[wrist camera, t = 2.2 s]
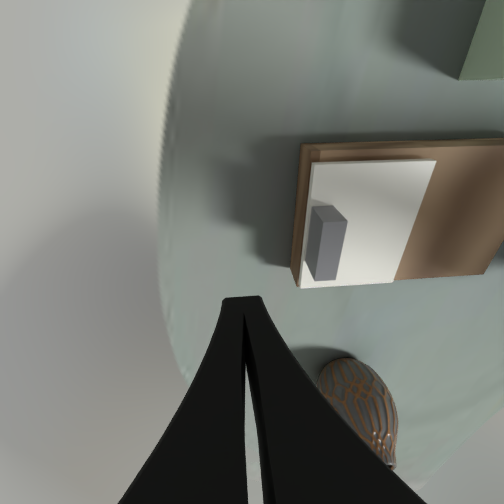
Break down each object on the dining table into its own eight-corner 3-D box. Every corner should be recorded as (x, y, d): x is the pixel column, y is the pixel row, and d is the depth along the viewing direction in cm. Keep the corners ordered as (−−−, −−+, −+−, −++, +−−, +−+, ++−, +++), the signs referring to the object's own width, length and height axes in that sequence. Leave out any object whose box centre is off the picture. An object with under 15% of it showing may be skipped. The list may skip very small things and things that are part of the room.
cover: (430, 158, 14) (467, 171, 11) (388, 277, 18) (410, 302, 16) (311, 162, 13) (328, 176, 11) (298, 283, 17) (308, 310, 15)
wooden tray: (521, 137, 16) (560, 143, 14) (460, 257, 21) (483, 274, 19) (300, 143, 15) (311, 151, 13) (290, 268, 20) (296, 286, 18)
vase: (306, 356, 26) (338, 461, 19) (373, 342, 26) (433, 444, 18) (310, 391, 30) (339, 491, 22) (369, 380, 30) (418, 477, 22)
